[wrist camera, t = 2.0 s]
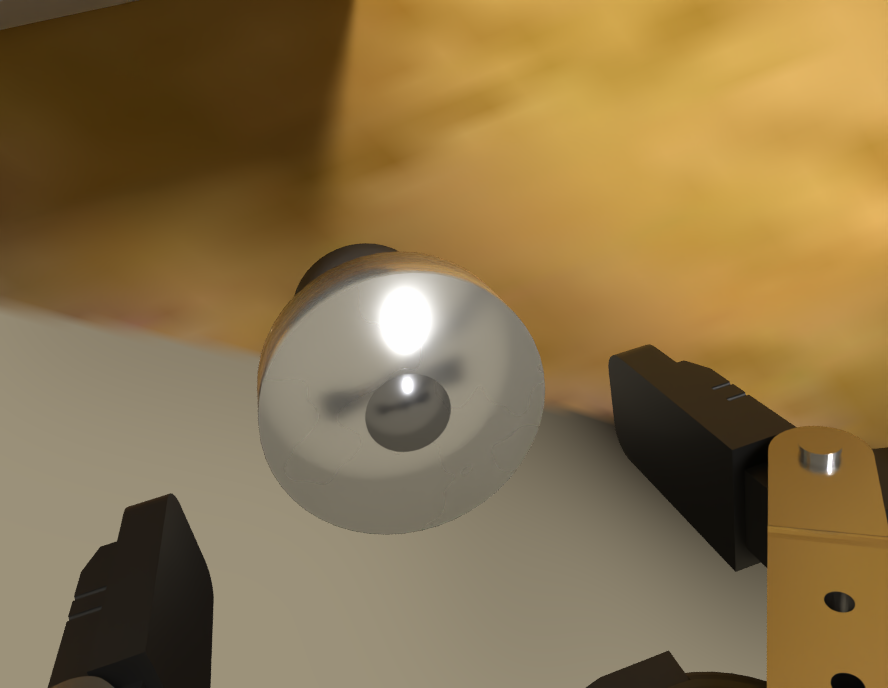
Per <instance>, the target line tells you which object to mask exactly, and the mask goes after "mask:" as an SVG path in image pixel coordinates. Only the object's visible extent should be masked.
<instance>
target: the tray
mask: <svg viewBox="0 0 888 688" xmlns="http://www.w3.org/2000/svg"><path fill="white" fill-rule="evenodd" d="M133 1H138V0H0V30H2V29H7V28H12V27H16V26H21V25H26V24H30V23H35V22H40V21H44V20H49V19H54V18H58V17H63V16H68V15H72V14H77V13H82V12H86V11H91V10H96V9H100V8H105V7H110V6H114V5H119V4H124V3H128V2H133Z"/></svg>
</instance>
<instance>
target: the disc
mask: <svg viewBox="0 0 888 688" xmlns="http://www.w3.org/2000/svg"><path fill="white" fill-rule="evenodd" d="M544 396H545V383H544V372H543V367H542V363H541V359H540V355H539V352H538V350H537V348H536V345H535V343H534V340H533V338H532V337H531V335H530V333H529V332H528V330H527V328H526V327H525V325H524V324H523V323H522V321H521V320H520V319H519V318H518V317H517V315H516V314H515V313H514V312H513V311H512V310H511V309H510V308H509V307H508V306H507V305H506V304H505V303H504V302H503V301H502V300H501V299H500V298H499V297H498V296H497V295H496V294H495V293H494V292H493V291H492V290H491V289H490V288H489V287H488V286H487V285H486V284H485V283H484V282H483V281H482V280H481V279H479V278H478V277H477V276H475V275H474V274H472V273H471V272H469V271H468V270H467V269H465V268H463V267H461V266H459V265H457V264H455V263H453V262H451V261H448V260H445V259H442V258H439V257H436V256H432V255H427V254H422V253H416V252H386V253H377V254H372V255H368V256H363V257H359V258H356V259H354V260H351V261H348V262H345V263H342V264H340V265H338V266H336V267H334V268H332V269H330V270H328V271H326V272H325V273H323V274H322V275H320V276H319V277H317V278H316V279H314V280H313V281H311V282H310V283H309V284H307V285H306V286H305V287H304V288H303V289H302V290H301V291H299V292H298V293H297V294H296V295H295V296H294V297H293V298H292V300H291V301H290V302H289V303H288V304H287V305H286V306H285V307H284V309H283V310H282V312H281V313H280V315H279V316H278V318H277V319H276V321H275V322H274V324H273V326H272V328H271V330H270V332H269V334H268V336H267V338H266V340H265V343H264V346H263V350H262V353H261V356H260V361H259V367H258V376H257V397H258V423H259V432H260V440H261V444H262V448H263V451H264V455H265V458H266V460H267V462H268V464H269V466H270V468H271V471H272V473H273V475H274V476H275V478H276V479H277V480H278V482H279V484H280V485H281V487H282V488H283V489H284V490H285V491H286V492H287V493H288V494H289V496H290V497H291V498H292V499H293V500H294V501H295V502H297V503H298V504H299V505H300V506H302V507H303V508H304V509H305V510H307V511H308V512H310V513H311V514H313V515H315V516H317V517H318V518H320V519H322V520H324V521H326V522H328V523H331V524H333V525H335V526H338V527H341V528H345V529H348V530H352V531H357V532H363V533H369V534H402V533H409V532H415V531H421V530H425V529H428V528H432V527H436V526H439V525H441V524H444V523H446V522H449V521H451V520H453V519H456V518H458V517H460V516H462V515H463V514H465V513H467V512H469V511H471V510H472V509H474V508H476V507H477V506H478V505H480V504H482V503H483V502H485V501H486V500H487V499H488V498H489V497H491V496H492V495H493V494H494V493H495V492H497V491H498V490H499V489H500V488H501V487H502V486H503V485H504V484H505V483H506V482H507V481H508V480H509V479H510V477H511V476H512V475H513V474H514V472H515V471H516V470H517V468H518V467H519V466H520V465H521V463H522V461H523V460H524V458H525V456H526V455H527V453H528V452H529V450H530V448H531V445H532V443H533V441H534V439H535V437H536V434H537V431H538V428H539V425H540V422H541V418H542V412H543V407H544Z"/></svg>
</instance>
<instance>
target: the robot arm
mask: <svg viewBox="0 0 888 688" xmlns="http://www.w3.org/2000/svg"><path fill="white" fill-rule="evenodd" d="M609 377H610V386H611V396H612V405H613V414H614V423H615V430H616V434H617V437H618V440H619V443H620V445H621V447H622V449H623V451H624V453H625V455H626V456H627V457H628V459H629V460H630V461H631V462H632V463H633V464H634V465H635V466H636V467H637V468H638V469H639V470H640V471H641V472H642V473H643V475H644V476H645V477H646V478H647V479H648V480H649V481H650V482H651V483H652V484H653V485H654V486H655V487H656V488H657V489H658V490H659V491H660V492H661V493H662V495H663V496H664V497H665V498H666V499H667V500H668V501H669V502H670V503H671V504H672V505H673V506H674V507H675V508H676V509H677V510H678V511H679V513H680V514H681V515H682V516H683V517H684V518H685V519H686V520H687V521H688V522H689V523H690V524H691V525H692V526H693V527H694V528H695V529H696V530H697V531H698V533H700V535H702V537H703V538H704V539H705V540H706V541H707V542H708V543H709V544H710V545H711V546H712V547H713V548H714V549H715V551H717V553H718V554H719V555H720V556H721V557H722V558H723V559H724V560H725V561H726V562H727V563H728V564H729V565H730V566H731V567H732V568H733V569H734V571H739V570H742V569H744V568H747V567H749V566H752V565H755V564H758V563H760V562H761V563H762V564H763V565H765V566H766V567H767V569H768V570H767V575H768V576H767V681H763V680H760V679H756V678H753V677H748V676H743V675H737V674H732V673H721V672H691V673H684V671H683V670H682V668H681V667H680V666H679V664H678V663H677V661H676V660H675V659H674V657H673V656H672V655H671V653H670V652H669V651H667V652H664V653H662V654H659V655H656V656H654V657H651V658H649V659H646V660H644V661H641V662H638V663H636V664H633V665H631V666H628V667H626V668H623V669H621V670H618V671H615V672H613V673H610V674H608V675H605V676H603V677H600V678H599V679H597V680H596V681H595V682H593V683H592V684H590V685H589V686H588V687H586V688H888V448H879V449H871V448H870V446H869V445H868V444H867V443H866V442H865V441H863V440H862V439H860V438H859V437H857V436H855V435H853V434H851V433H848V432H846V431H843V430H839V429H835V428H830V427H822V426H805V427H795V426H794V425H792V424H791V423H789V422H788V421H786V420H785V419H783V418H782V417H781V416H779V415H778V414H776V413H775V412H773V411H772V410H770V409H769V408H767V407H766V406H764V405H763V404H762V403H760V402H759V401H757V400H756V399H754V398H753V397H751V396H750V395H747V396H746V394H745V392H744V391H743V390H741V389H740V388H738V387H737V386H735V385H734V384H732V385H730V382H729V381H728V380H726V379H725V378H724V377H722V376H721V375H719V374H718V373H716V372H715V371H713V370H712V369H710V368H707V367H704V366H700V365H697V364H694V363H691V362H687V361H681V362H678V363H676V362H675V361H674V360H672V359H671V358H669V357H668V356H667V355H665V354H664V353H662V352H661V351H660V350H658V349H657V348H656V347H654V346H652V345H650V344H649V345H645V346H641V347H638V348H635V349H632V350H629V351H625V352H622V353H619V354H616V355H613V356H611V357H610V359H609ZM74 597H75V601H73V602H72V606H71V609H70V613H69V616H68V617H69V621H67V623H66V626H65V630H64V633H63V637H62V640H61V644H60V647H59V651H58V654H57V658H56V661H55V664H54V668H53V671H52V675H51V678H50V682H49V685H48V688H210V683H211V656H212V629H213V628H212V627H213V598H214V597H213V587H212V582H211V577H210V574H209V570H208V567H207V564H206V562H205V559H204V557H203V555H202V553H201V551H200V548H199V546H198V544H197V542H196V539H195V537H194V535H193V532H192V530H191V528H190V526H189V524H188V521H187V519H186V517H185V514H184V513H183V510H182V508H181V505H180V503H179V502H178V500H177V498H176V497H175V496H174V495H173V494H167V495H165V496H161V497H158V498H155V499H152V500H148V501H145V502H142V503H139V504H136V505H133V506H129V507H127V508H126V509H125V511H124V514H123V519H122V523H121V527H120V532H119V536H118V540H117V542H114V543H111V544H108V545H104V546H101V547H100V548H99V549H98V551H97V552H96V553H95V555H94V556H93V557H92V559H91V560H90V561H89V562H88V564H87V565H86V566H85V568H84V569H83V570H82V572H81V574H80V578H79V581H78V585H77V588H76V592H75V596H74Z"/></svg>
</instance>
